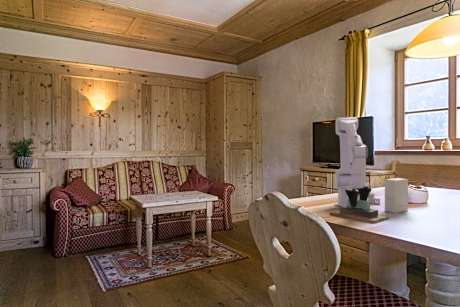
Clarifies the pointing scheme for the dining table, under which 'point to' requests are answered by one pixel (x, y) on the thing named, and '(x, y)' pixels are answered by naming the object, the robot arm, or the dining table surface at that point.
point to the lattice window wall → (371, 199)
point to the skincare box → (396, 195)
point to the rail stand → (359, 214)
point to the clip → (360, 204)
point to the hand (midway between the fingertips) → (358, 205)
